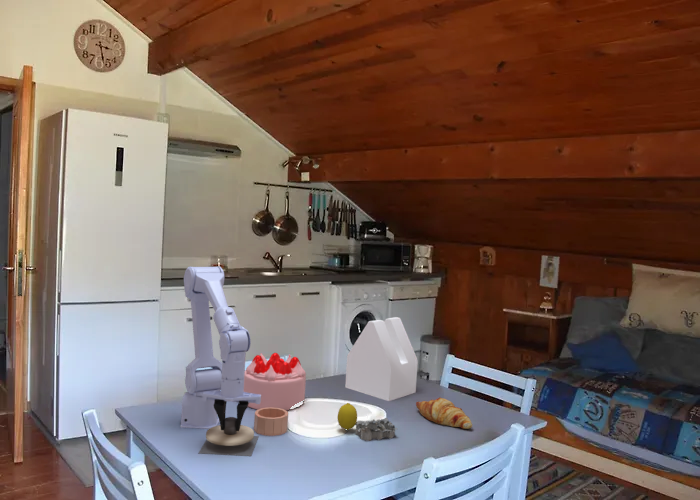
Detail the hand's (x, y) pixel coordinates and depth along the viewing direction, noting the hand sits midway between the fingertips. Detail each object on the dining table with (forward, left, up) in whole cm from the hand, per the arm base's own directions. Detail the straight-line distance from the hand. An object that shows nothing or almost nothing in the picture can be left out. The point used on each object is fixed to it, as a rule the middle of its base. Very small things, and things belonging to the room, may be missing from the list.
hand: (230, 429), depth 153 cm
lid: (0, 0, -2) cm, 2 cm away
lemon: (+30, +15, -5) cm, 34 cm away
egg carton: (+38, +13, -5) cm, 40 cm away
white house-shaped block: (+42, +56, -5) cm, 70 cm away
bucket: (+9, +12, -4) cm, 16 cm away
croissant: (+59, +28, -5) cm, 66 cm away
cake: (+7, +37, -5) cm, 38 cm away
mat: (0, 0, -4) cm, 4 cm away
